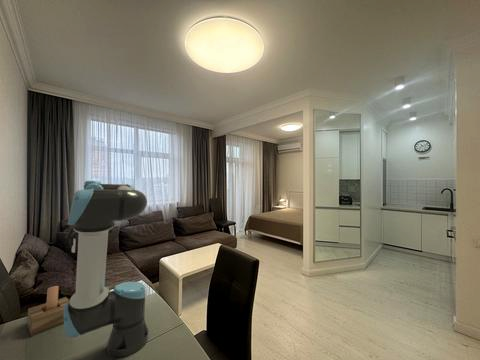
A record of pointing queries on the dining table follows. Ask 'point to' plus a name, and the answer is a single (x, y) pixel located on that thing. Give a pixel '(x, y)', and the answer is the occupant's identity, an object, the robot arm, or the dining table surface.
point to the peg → (52, 298)
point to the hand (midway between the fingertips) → (89, 249)
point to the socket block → (45, 317)
